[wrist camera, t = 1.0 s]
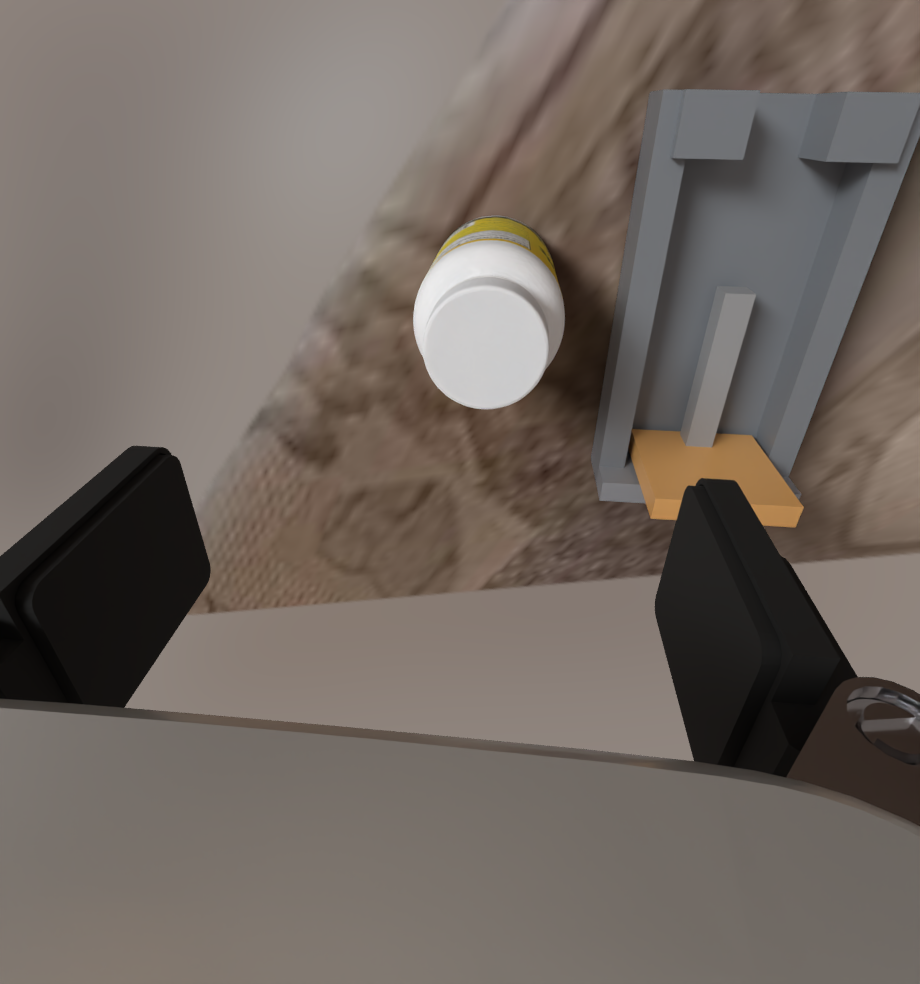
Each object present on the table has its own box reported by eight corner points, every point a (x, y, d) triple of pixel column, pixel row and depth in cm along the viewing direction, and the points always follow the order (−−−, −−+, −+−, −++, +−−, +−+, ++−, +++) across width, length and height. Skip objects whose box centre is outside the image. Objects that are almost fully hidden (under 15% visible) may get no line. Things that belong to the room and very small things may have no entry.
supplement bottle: (546, 341, 27) (558, 437, 19) (433, 332, 28) (397, 424, 20) (563, 216, 24) (585, 268, 16) (436, 208, 25) (395, 254, 17)
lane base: (895, 95, 21) (965, 92, 18) (763, 468, 30) (794, 512, 27) (650, 92, 22) (673, 88, 19) (591, 458, 31) (599, 500, 27)
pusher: (800, 287, 24) (875, 334, 19) (745, 453, 29) (795, 527, 24) (660, 282, 25) (697, 326, 20) (627, 446, 29) (650, 518, 24)
